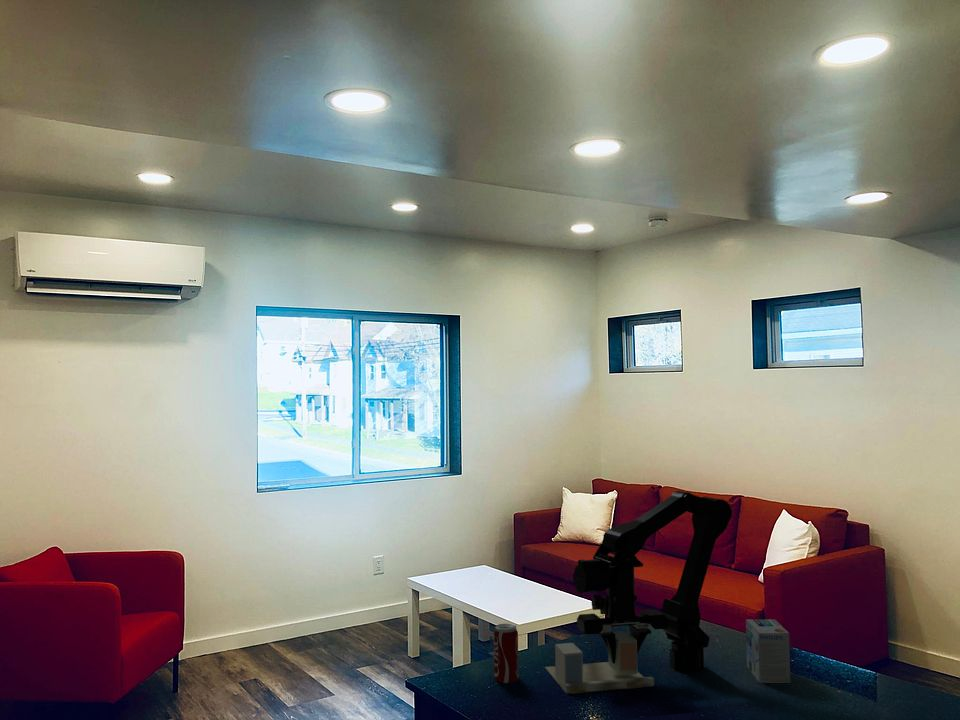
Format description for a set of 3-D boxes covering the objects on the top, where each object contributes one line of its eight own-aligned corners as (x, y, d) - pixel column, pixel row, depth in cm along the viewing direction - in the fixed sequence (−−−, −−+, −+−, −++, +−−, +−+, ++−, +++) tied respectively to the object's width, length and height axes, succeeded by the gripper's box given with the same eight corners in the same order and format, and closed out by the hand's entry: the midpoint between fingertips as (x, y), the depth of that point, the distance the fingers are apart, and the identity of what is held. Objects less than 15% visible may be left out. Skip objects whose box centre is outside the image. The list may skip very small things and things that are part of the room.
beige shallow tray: (625, 665, 174) (624, 653, 174) (654, 691, 158) (654, 678, 158) (544, 671, 171) (544, 660, 171) (566, 698, 155) (566, 686, 155)
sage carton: (625, 663, 167) (625, 631, 168) (637, 674, 161) (637, 640, 161) (608, 664, 167) (607, 632, 167) (619, 675, 160) (619, 641, 160)
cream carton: (573, 675, 165) (572, 642, 165) (583, 687, 158) (582, 652, 159) (555, 677, 164) (555, 644, 165) (565, 688, 158) (564, 654, 158)
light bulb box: (746, 666, 172) (744, 618, 173) (776, 667, 172) (775, 618, 172) (759, 684, 162) (758, 632, 162) (792, 684, 161) (790, 632, 162)
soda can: (516, 688, 161) (515, 630, 161) (492, 686, 162) (491, 629, 162) (520, 679, 166) (519, 623, 166) (496, 678, 167) (496, 622, 168)
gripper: (646, 577, 174) (648, 647, 174) (568, 582, 171) (569, 653, 170) (667, 589, 163) (669, 663, 163) (584, 594, 160) (586, 670, 159)
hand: (622, 662), depth 164 cm, fingers closed on sage carton, 4 cm apart
